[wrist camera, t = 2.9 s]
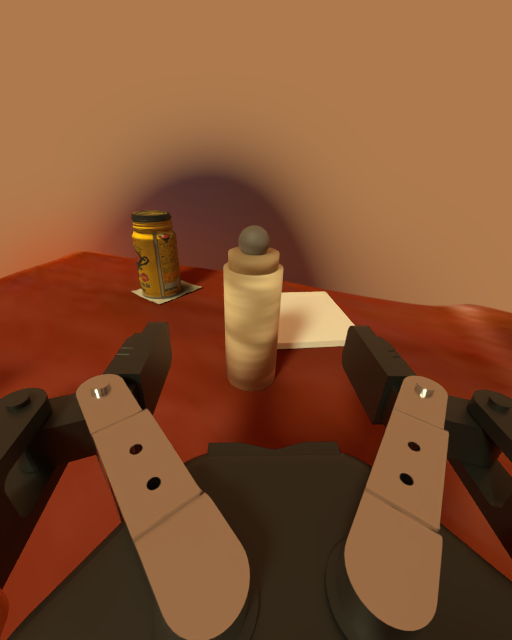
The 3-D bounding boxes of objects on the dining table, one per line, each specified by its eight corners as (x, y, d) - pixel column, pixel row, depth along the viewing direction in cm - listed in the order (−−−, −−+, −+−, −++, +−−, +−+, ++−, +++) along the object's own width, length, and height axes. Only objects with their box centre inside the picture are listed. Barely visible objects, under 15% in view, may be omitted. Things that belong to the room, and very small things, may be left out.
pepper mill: (270, 358, 31) (279, 220, 24) (279, 389, 26) (293, 232, 20) (225, 360, 30) (221, 220, 23) (227, 392, 26) (223, 232, 19)
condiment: (130, 292, 45) (114, 212, 39) (174, 278, 51) (166, 206, 45) (159, 305, 41) (146, 218, 35) (202, 288, 47) (197, 212, 41)
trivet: (324, 296, 46) (325, 291, 45) (365, 344, 33) (366, 338, 33) (237, 298, 44) (237, 293, 43) (246, 350, 32) (246, 344, 31)
